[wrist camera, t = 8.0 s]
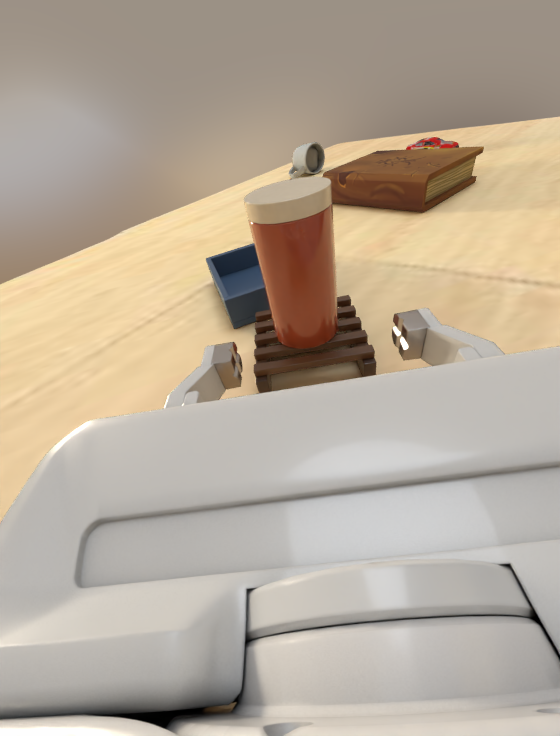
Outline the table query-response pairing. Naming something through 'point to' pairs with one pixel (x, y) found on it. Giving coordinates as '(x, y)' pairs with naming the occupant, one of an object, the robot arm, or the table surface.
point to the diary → (404, 178)
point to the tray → (239, 284)
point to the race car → (432, 144)
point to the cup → (297, 258)
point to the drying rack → (351, 337)
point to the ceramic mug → (307, 160)
